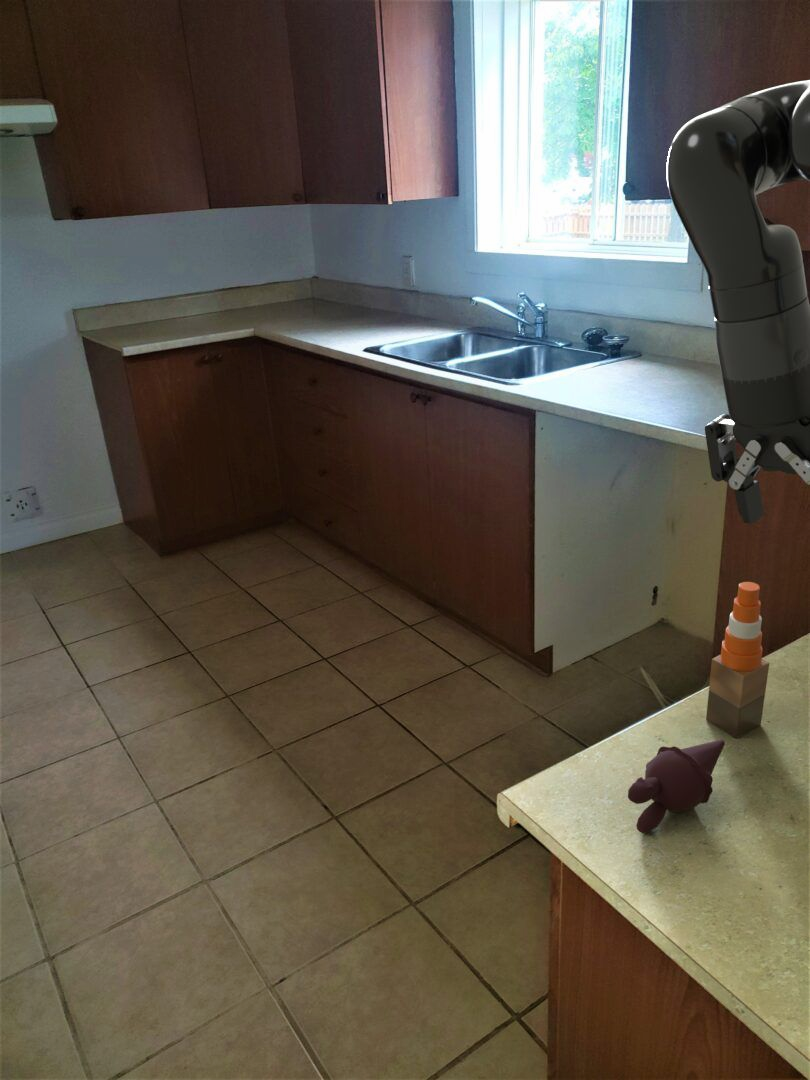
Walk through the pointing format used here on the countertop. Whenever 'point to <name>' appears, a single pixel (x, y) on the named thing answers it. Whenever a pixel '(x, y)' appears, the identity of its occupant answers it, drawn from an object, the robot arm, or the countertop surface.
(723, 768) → the countertop surface
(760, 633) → the cone
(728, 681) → the block top
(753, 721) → the block bottom
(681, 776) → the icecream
